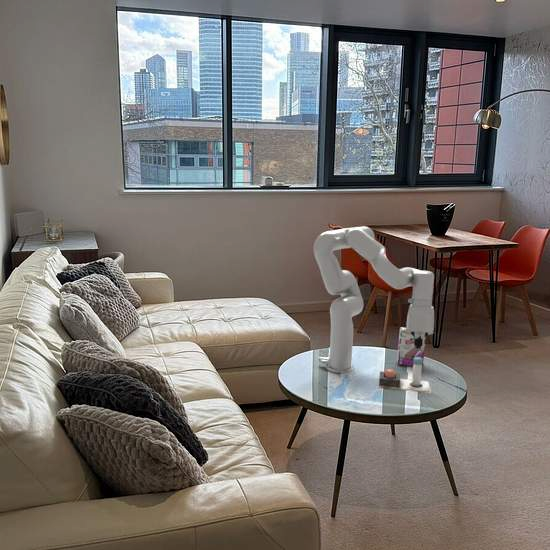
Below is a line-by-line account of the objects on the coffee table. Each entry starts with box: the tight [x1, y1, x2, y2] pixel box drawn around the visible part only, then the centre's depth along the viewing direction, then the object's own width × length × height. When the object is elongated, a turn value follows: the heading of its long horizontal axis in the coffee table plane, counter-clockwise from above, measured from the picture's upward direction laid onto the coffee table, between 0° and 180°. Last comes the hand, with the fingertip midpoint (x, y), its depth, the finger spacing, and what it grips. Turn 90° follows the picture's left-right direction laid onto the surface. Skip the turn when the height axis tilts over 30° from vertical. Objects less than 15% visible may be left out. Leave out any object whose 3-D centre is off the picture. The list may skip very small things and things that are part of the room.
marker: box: [411, 357, 424, 386], centre depth 231 cm, size 3×3×11 cm
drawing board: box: [378, 371, 432, 394], centre depth 232 cm, size 20×12×4 cm, turn 79°
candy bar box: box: [396, 326, 427, 368], centre depth 257 cm, size 11×5×16 cm, turn 84°
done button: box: [384, 368, 396, 378], centre depth 233 cm, size 4×4×4 cm
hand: (417, 347), depth 229 cm, fingers closed
